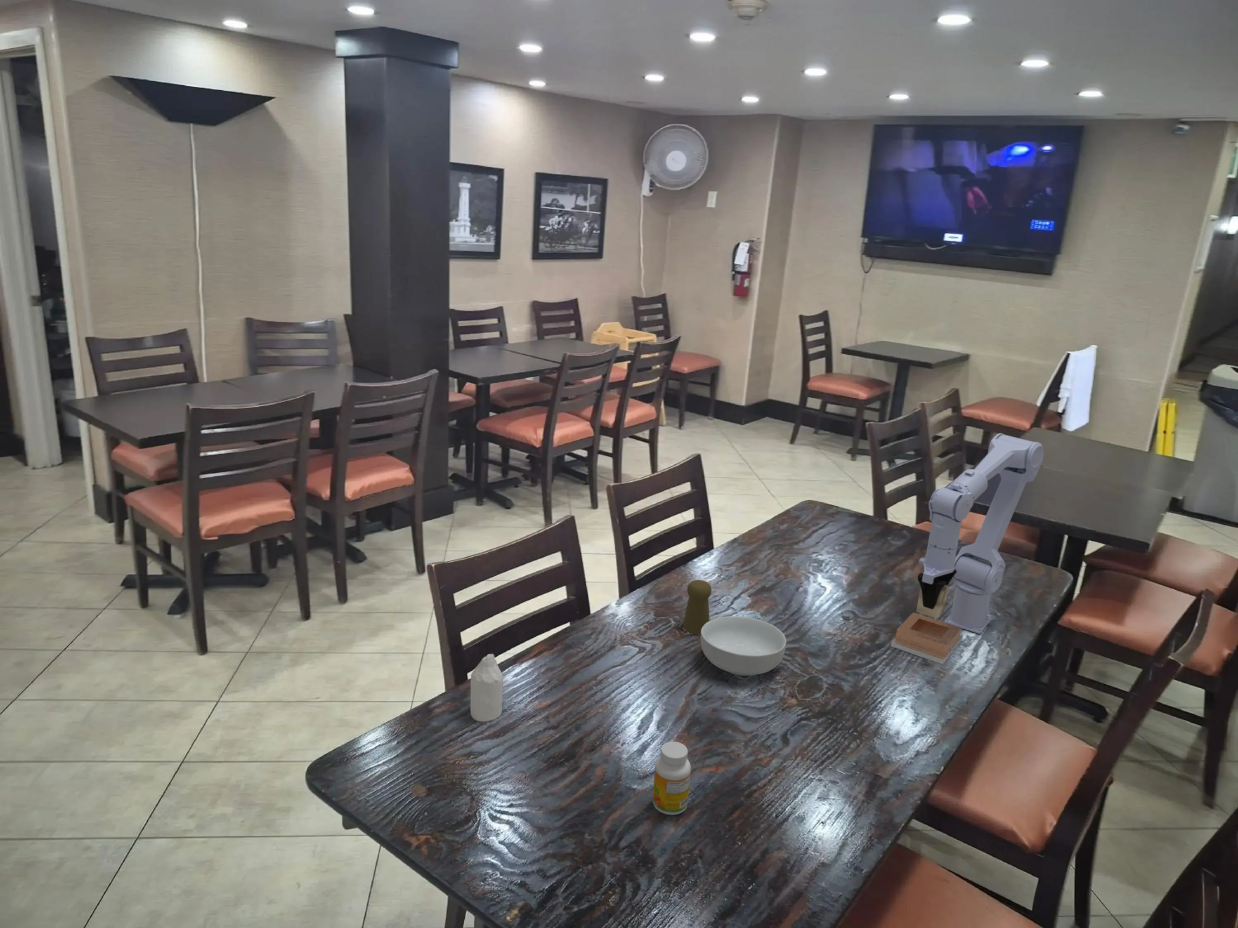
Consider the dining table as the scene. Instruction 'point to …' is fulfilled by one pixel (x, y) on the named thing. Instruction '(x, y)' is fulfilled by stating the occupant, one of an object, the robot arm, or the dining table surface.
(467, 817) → the dining table surface
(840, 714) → the dining table surface
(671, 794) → the supplement bottle
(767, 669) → the cereal bowl
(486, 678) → the grey pointed cylinder
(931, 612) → the birch block
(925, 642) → the orange-brown socket block
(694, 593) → the olive salt shaker
